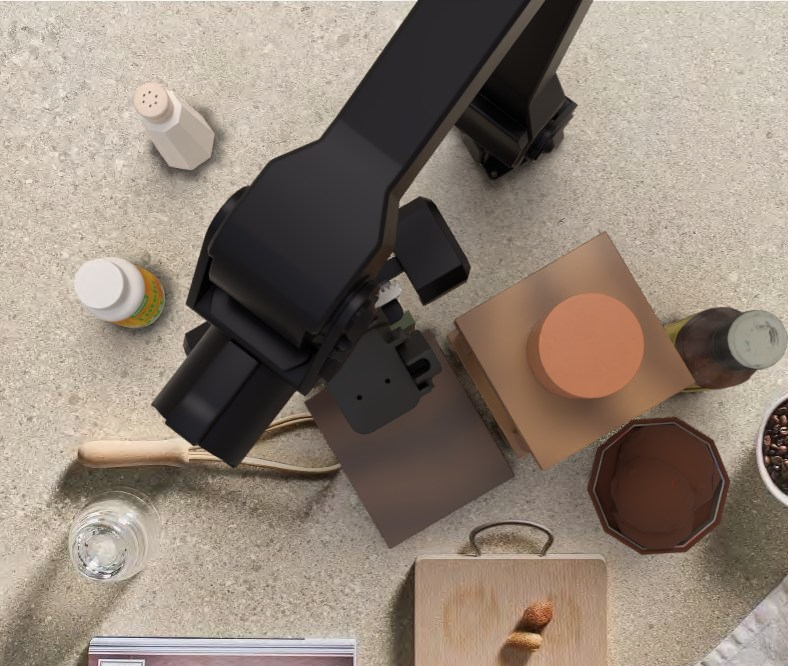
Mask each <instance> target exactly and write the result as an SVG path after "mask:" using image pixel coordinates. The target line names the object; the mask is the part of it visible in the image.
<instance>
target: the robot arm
mask: <svg viewBox="0 0 788 666" xmlns="http://www.w3.org/2000/svg"><path fill="white" fill-rule="evenodd" d="M593 3H594V0H417V1H416V2H415V3H414V5H413V6H412V7H411V9H410V10H409V12H408V13H407V15H406V16H405V17H404V19H403V20H402V22H401V23H400V25H399V26H398V27H397V29H396V30H395V32H394V33H393V35H391V36H392V37H390V39H389V40H388V42H387V43H386V45H385V46H384V47H383V49H382V51H381V52H380V53H379V55H378V56H377V58H376V59H375V61H374V62H373V63H372V64H371V66H370V67H369V69H368V70H367V72H366V73H365V75H364V76H363V77H362V79H361V81H359V83H358V84H357V86H356V87H355V89H354V90H353V92H352V93H351V95H350V96H349V97H348V99H347V101H346V102H345V103H344V104H343V106H342V107H341V109H340V110H339V112H338V113H337V115H336V116H335V118H333V120H332V121H331V123H330V124H329V125H328V127H327V128H326V129H325V131H324V132H323V133H322V134H321V135H320V137H319V138H318V139H316V140H313V141H311V142H309V143H306V144H305V145H302V146H299V147H297V148H295V149H292V150H290V151H287V152H285V153H283V154H281V155H278V156H275V157H274V158H273V157H272V159H270V160H268V162H267V163H266V164H265V166H264V167H263V168H262V169H261V171H260V172H259V173H258V174H257V176H256V177H255V178H254V180H253V181H252V183H250V184H248V185H244V186H242V187H241V188H239V189H238V190H236V191H235V192H234V193H233V194H231V196H229V197H228V199H227V200H226V201H225V202H224V203H223V204H222V205H221V207H220V208H219V209H218V211H217V212H216V214H215V215H214V216H213V218H212V220H211V221H210V223H209V225H208V227H207V230H206V232H205V234H204V237H203V241H202V243H201V248H200V251H199V255H198V259H197V262H196V265H195V268H194V272H193V276H192V281H191V283H190V286H189V290H188V294H187V297H186V300H185V306H186V307H187V308H189V309H190V310H192V311H193V312H194V313H195V314H197V315H198V316H199V317H201V318H202V319H203V320H204V322H202V323H201V324H199V325H197V326H195V327H194V328H192V329H191V330H189V331H187V332H186V333H184V338H183V343H182V347H183V351H184V353H185V356H186V358H185V359H184V360H183V361H182V363H181V364H180V365H179V367H178V368H177V369H176V370H175V372H174V373H173V375H172V376H171V377H170V378H169V380H168V381H167V382H166V384H165V385H164V386H163V387H162V389H161V390H160V391H159V393H158V394H157V395H156V397H155V398H154V399H153V401H152V402H151V403H150V405H151V406H152V407H153V408H154V409H155V410H156V411H157V413H158V414H159V415H160V416H161V417H162V418H163V419H164V420H165V421H164V425H165V426H166V427H168V428H169V429H170V430H172V431H173V432H174V433H176V434H177V435H178V436H179V437H180V438H181V439H183V440H184V441H186V442H187V443H188V444H189V445H191V446H192V447H199V448H201V449H202V450H204V451H205V452H207V453H208V454H211V455H212V456H214V457H216V458H218V459H219V460H221V461H222V462H224V463H225V464H226V465H227V466H229V467H230V468H232V469H238V468H239V466H240V465H241V463H242V462H243V461H244V460H245V458H246V457H247V456H248V454H249V453H250V452H251V451H252V449H253V448H254V447H255V445H256V444H257V443H258V441H259V440H260V439H261V437H262V436H263V435H264V433H266V430H267V429H268V428H269V427H270V426H271V424H272V423H273V422H274V420H276V418H277V416H279V414H280V413H281V412H282V410H283V409H284V408H285V407H286V405H287V404H288V402H289V401H290V400H291V398H292V397H293V396H294V395H295V393H296V392H298V393H299V394H300V395H302V396H303V397H304V398H306V397H307V396H308V395H309V394H310V392H311V391H312V390H313V389H312V388H313V387H314V386H315V385H316V383H317V382H318V383H321V384H322V385H325V387H326V389H328V391H329V393H330V394H331V396H332V397H333V399H334V401H335V402H336V404H337V406H338V407H339V409H340V410H341V412H342V414H343V415H344V417H345V419H346V420H347V422H348V423H349V425H350V427H351V428H352V429H353V430H354V431H355V432H356V433H358V434H363V435H365V434H370V433H372V432H374V431H376V430H378V429H379V428H381V427H383V426H385V425H386V424H388V423H390V422H391V421H393V420H395V419H397V418H398V417H400V416H402V415H403V414H405V413H407V412H409V411H410V410H412V409H413V408H415V407H416V406H417V404H418V402H419V400H420V397H422V396H424V395H426V394H427V393H429V392H431V391H432V390H431V389H433V388H434V387H435V386H434V384H433V382H432V378H433V377H434V376H436V375H437V374H439V373H441V372H442V366H441V364H440V362H439V361H438V359H437V357H436V355H435V354H434V352H433V350H432V348H431V347H430V345H429V344H428V342H427V341H426V339H425V338H424V336H423V335H422V332H421V331H420V330H419V329H415V330H414V331H412V332H411V333H409V334H405V333H404V331H403V330H402V328H401V326H399V327H397V328H396V329H394V330H391V328H390V326H391V325H393V324H395V323H396V322H398V321H400V320H401V318H402V317H403V313H404V309H403V306H402V305H401V303H400V301H399V300H398V298H399V297H400V296H402V295H403V293H404V290H403V288H402V286H401V284H400V282H399V281H397V280H395V279H394V278H396V277H398V276H400V275H402V274H403V273H404V274H405V276H406V277H407V279H408V281H409V283H410V284H411V286H412V288H413V289H414V291H415V293H416V294H417V296H418V300H419V302H420V303H421V305H422V307H425V306H427V305H430V304H431V303H434V302H435V301H438V300H439V299H440V298H443V297H444V296H445V295H447V294H449V293H451V292H453V291H454V290H456V289H457V288H459V287H461V286H462V285H464V284H466V283H468V280H469V277H470V273H471V270H472V266H471V263H470V261H469V258H468V256H467V255H466V253H465V251H464V250H463V248H462V245H461V244H460V243H459V241H458V240H457V238H456V236H455V234H454V233H453V231H452V230H451V227H450V226H449V224H448V223H447V221H446V220H445V218H444V216H443V214H442V212H441V211H440V209H439V208H438V206H437V204H436V203H435V202H434V201H433V199H431V198H427V197H424V196H421V195H419V196H417V197H416V198H414V199H412V200H411V201H409V202H407V203H405V204H403V205H402V206H400V202H401V200H402V198H403V196H404V195H405V194H406V192H407V191H408V190H409V188H410V186H411V185H412V184H413V182H414V181H415V179H416V178H417V177H418V176H419V174H420V172H421V171H422V170H423V168H424V167H425V166H426V164H427V163H428V162H429V160H430V159H431V157H432V156H433V155H434V153H435V152H436V150H437V149H438V148H439V146H440V145H441V144H442V142H443V141H444V139H445V138H446V137H447V136H448V134H449V133H450V131H451V130H452V129H453V127H455V128H457V129H458V130H459V131H460V132H461V133H462V139H461V141H462V142H463V145H464V146H465V148H466V149H467V151H468V153H469V154H470V156H471V158H472V160H473V161H474V163H475V164H476V165H481V167H482V169H483V170H484V172H485V174H486V176H487V177H488V179H489V180H490V181H497V180H499V179H500V178H502V177H504V176H506V175H508V174H509V173H511V172H512V171H514V170H516V169H518V168H519V167H521V166H523V165H524V164H526V163H528V162H529V163H531V164H534V163H537V162H540V160H541V159H542V158H543V157H544V155H546V154H551V153H552V152H553V151H554V150H556V149H558V148H559V147H560V145H561V144H562V142H563V141H564V139H565V133H564V132H565V131H564V130H565V128H566V127H567V126H568V124H569V123H570V122H571V120H572V119H573V118H574V115H573V114H574V112H575V111H576V110H577V108H578V106H579V104H578V103H577V102H575V101H574V100H573V99H571V98H570V97H569V96H567V95H566V93H565V91H564V88H563V87H562V83H561V81H560V78H559V76H558V73H557V71H558V69H559V68H560V65H561V63H562V61H563V59H564V57H565V56H566V54H567V52H568V50H569V48H570V46H571V44H572V42H573V40H574V38H575V36H576V35H577V32H578V30H579V29H580V27H581V25H582V24H583V21H584V20H585V17H586V16H587V14H588V12H589V9H591V6H592V4H593ZM493 173H495V174H496V175H495V176H493V175H492V174H493ZM392 254H393V255H394V256H392ZM391 256H392V257H391ZM390 257H391V258H390ZM393 279H394V280H393ZM392 280H393V284H394V285H393V284H392V283H391V281H392ZM414 381H415V382H414Z"/></svg>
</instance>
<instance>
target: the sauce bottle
mask: <svg viewBox="0 0 788 666" xmlns="http://www.w3.org/2000/svg"><path fill="white" fill-rule="evenodd" d="M663 328H664V329H665V331H666V333H667V334H668V336H669V338H670V339H671V341H672V343H673V344H674V346H675V348H676V350H677V351H678V353H679V355H680V356H681V358H682V360H683V361H684V363H685V365H686V366H687V368H688V370H689V371H690V373H691V375H692V376H693V378H694V380H695V383H694V384H692V385H691V386H689V387H687V388H685V389H684V390H682V391H680V392H681V393H695V392H706V391H716V390H724V389H729V388H732V387H736V386H737V387H738V386H739V385H742V384H744V383H745V382H748V381H749V380H750V379H751V378H752V376H753V375H754V374H755V373H756V372H757V371H762V370H765V369H768V368H771V367H772V366H775V365H776V364H777V363H778V362H779V361H781V359H782V358H783V357H784V355H785V353H786V351H787V349H788V332H787V329H786V327H785V326H784V324H783V322H782V321H781V319H780V318H778V317H777V316H776V315H775V314H773V313H772V312H770V311H767V310H764V309H752V310H746V311H743V312H742V311H741V310H738V309H736V308H732V307H729V306H715V307H711V308H706V309H704V310H702V311H699V312H697V313H694V314H690V315H688V316H686V317H683V318H681V319H678V320H675V321H673V322H671V323H668V324H667V325H665V326H663ZM680 392H679V393H680Z"/></svg>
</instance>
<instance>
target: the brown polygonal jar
mask: <svg viewBox="0 0 788 666" xmlns="http://www.w3.org/2000/svg"><path fill="white" fill-rule="evenodd" d="M730 484H731V480H730V476H729V474H728V471H727V469H726V467H725V465H724V462H723V460H722V457H721V454H720V452H719V450H718V447H717V445H716V442H715V440H714V439H713V438H711V437H710V436H708V435H706V434H705V433H703V432H702V431H700V430H698V429H697V428H695V427H693V426H692V425H690V424H689V423H687V422H686V421H684V420H683V419H680V418H679V417H677V416H666V417H663V416H662V417H650V418H649V417H647V418H634V419H632V420H631V421H629V422H627V423H626V424H624V425H623V426H621V427H620V428H619V429H618V430H617V431H616V432H615V433H614V434H613V435H611V436H610V437H609V438H608V439H606V440H605V441H604V442H603V443H602V444H600V445H599V446H598V447H597V448H596V452H595V455H594V460H593V464H592V468H591V471H590V476H589V480H588V485H587V488H586V490H587V493H588V496H589V498H590V501H591V503H592V505H593V508H594V511H595V513H596V515H597V518H598V521H599V523H600V525H601V528H602V530H603V532H604V533H605V534H607V535H609V536H610V537H612V538H614V539H615V540H617V541H618V542H620V543H622V544H623V545H625V546H626V547H628V548H629V549H631V550H632V551H633V552H636V553H638V554H639V555H640V556H650V555H665V554H667V555H668V554H680V553H682V554H683V553H687V552H689V551H690V549H692V548H693V547H694V546H695V545H696V544H698V543H699V542H700V541H702V540H703V539H704V538H705V537H706V536H707V535H708V534H710V533H711V532H712V531H713V530H714V529H716V528H717V527H718V526H719V525H720V524H721V521H722V518H723V514H724V510H725V504H726V502H727V501H726V500H727V496H728V494H729V488H730Z"/></svg>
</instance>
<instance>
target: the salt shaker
mask: <svg viewBox="0 0 788 666" xmlns="http://www.w3.org/2000/svg"><path fill="white" fill-rule="evenodd" d="M132 105H133V107H134V110H135V111H136V112H137V118H138V120H139V121H140V123H141V125H142V126H143V128H144V130H145V132H147V135H148V137H149V139H150V140H151V141H152V143H153V146H154V147H155V149H156V150H157V151H158V153H159V154H160V155H161V156H162V158H163V159H164V161H165V162H166V164H167V166H168V167H169V168H170V167H171V168H174V169H175V168H177V169H182V170H186V171H187V170H188V171H194V170H195V169H196V168H198V167H200V165H202V164H203V163H205V162H206V161H208V160H209V159H210V158H212V154H213V148H214V142H215V136H216V134H215V132H214V131H213V130H212V128H211V126H210V125H209V124H208V122H207V121H206V120H205V118H204V117H203V115H202V114H200V112H199V111H197V110H196V109H195V108H193V107H192V106H191V105H190V104H189V103H187V102H186V101H185V100H184V99H183V98H181V97H180V96H179V95H178V94H176V93H175V92H174V91H172V90H168V89H166V88H165V87H164V86H163V85H161V84H159V83H158V82H152V81H149V82H145V83H142V84H141V85H140V86H138V87H137V88H136V90H135V92H134V93H133V98H132Z"/></svg>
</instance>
